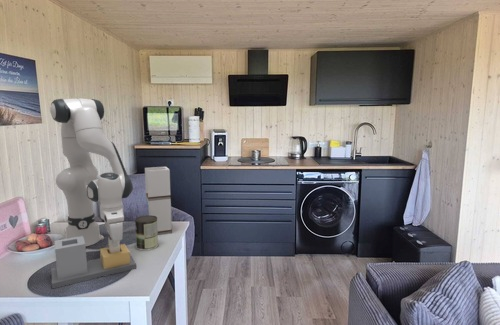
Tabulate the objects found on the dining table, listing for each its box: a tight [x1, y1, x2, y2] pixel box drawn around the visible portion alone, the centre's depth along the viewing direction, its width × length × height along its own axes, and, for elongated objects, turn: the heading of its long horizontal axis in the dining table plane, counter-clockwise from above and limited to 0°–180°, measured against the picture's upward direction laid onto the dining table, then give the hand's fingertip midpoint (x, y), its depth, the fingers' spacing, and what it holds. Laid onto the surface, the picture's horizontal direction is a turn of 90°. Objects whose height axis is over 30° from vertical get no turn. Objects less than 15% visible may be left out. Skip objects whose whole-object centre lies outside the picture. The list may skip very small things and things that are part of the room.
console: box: [50, 236, 137, 289], centre depth 132 cm, size 14×30×14 cm, turn 122°
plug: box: [107, 234, 121, 254], centre depth 136 cm, size 4×4×10 cm
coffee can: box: [134, 214, 159, 251], centre depth 156 cm, size 10×10×14 cm
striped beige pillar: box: [144, 166, 173, 236], centre depth 175 cm, size 11×11×35 cm
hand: (114, 244), depth 135 cm, fingers closed on plug, 4 cm apart
